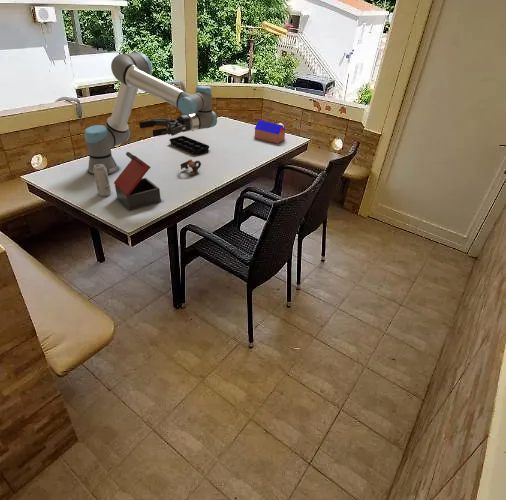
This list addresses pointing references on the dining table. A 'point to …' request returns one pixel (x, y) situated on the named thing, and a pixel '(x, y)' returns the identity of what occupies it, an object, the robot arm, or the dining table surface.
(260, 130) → the house
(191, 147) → the egg carton
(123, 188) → the lid
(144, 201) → the dark gray box
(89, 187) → the dining table surface
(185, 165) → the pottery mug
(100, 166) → the energy drink can
